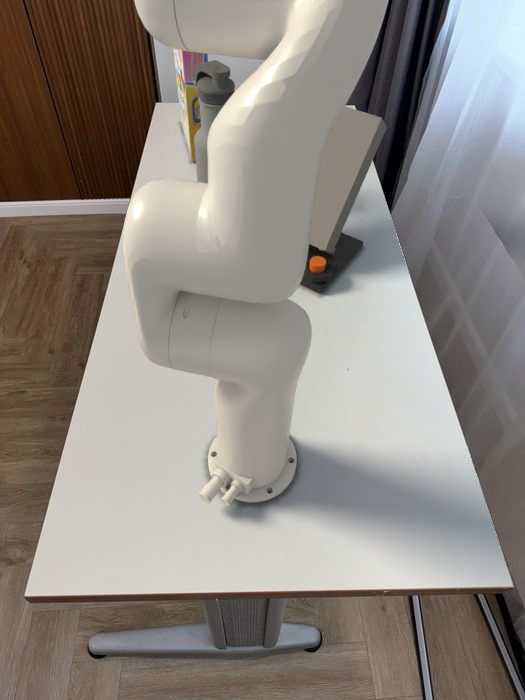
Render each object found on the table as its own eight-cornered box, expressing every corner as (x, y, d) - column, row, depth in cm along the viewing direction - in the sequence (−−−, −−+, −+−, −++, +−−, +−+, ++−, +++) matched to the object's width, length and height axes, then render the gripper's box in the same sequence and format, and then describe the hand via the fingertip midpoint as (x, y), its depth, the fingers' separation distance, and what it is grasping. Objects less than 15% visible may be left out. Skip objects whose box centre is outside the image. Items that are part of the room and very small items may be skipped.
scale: (321, 294, 94) (323, 282, 92) (251, 261, 100) (251, 248, 97) (362, 247, 103) (365, 235, 101) (296, 219, 109) (297, 207, 106)
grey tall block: (333, 255, 99) (388, 129, 94) (324, 252, 94) (382, 117, 88) (274, 230, 104) (323, 108, 98) (262, 225, 98) (313, 96, 92)
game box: (213, 160, 123) (207, 36, 102) (191, 162, 122) (180, 38, 101) (200, 120, 136) (192, 3, 115) (180, 122, 135) (168, 4, 114)
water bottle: (189, 195, 114) (176, 61, 92) (225, 181, 118) (220, 50, 96) (214, 217, 109) (207, 81, 87) (251, 202, 113) (252, 68, 91)
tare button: (320, 275, 93) (321, 268, 92) (306, 269, 94) (307, 262, 93) (327, 267, 95) (329, 259, 94) (314, 260, 96) (315, 253, 95)
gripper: (339, -8, 62) (322, 129, 75) (397, -36, 71) (373, 89, 84) (288, -19, 64) (280, 115, 77) (350, -45, 74) (334, 78, 87)
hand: (329, 101), depth 81 cm, fingers open, 9 cm apart
